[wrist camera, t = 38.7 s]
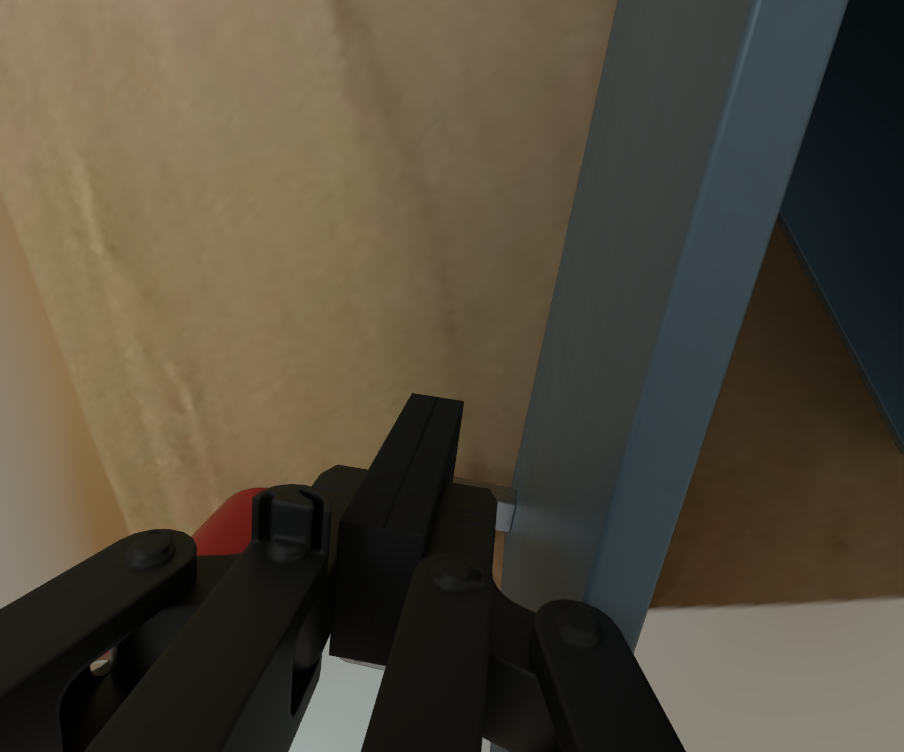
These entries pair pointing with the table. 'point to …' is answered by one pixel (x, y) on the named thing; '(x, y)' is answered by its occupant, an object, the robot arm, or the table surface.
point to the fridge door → (654, 288)
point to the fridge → (858, 199)
